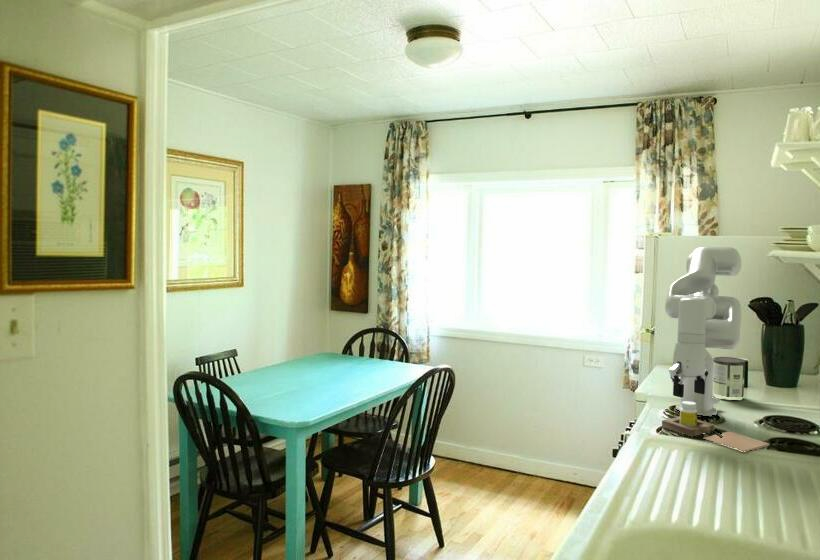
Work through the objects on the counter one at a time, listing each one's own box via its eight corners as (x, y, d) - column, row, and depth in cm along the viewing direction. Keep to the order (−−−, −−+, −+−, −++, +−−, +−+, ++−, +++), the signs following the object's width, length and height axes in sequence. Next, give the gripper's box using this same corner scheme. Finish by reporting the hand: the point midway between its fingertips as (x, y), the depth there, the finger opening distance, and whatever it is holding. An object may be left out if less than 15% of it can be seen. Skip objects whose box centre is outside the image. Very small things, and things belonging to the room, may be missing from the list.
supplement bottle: (698, 432, 179) (699, 405, 179) (681, 431, 180) (682, 404, 180) (694, 427, 184) (695, 401, 183) (677, 426, 185) (678, 400, 184)
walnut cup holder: (684, 422, 189) (684, 415, 189) (714, 431, 180) (714, 424, 180) (661, 427, 184) (662, 420, 184) (691, 437, 175) (692, 430, 175)
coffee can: (722, 392, 225) (724, 355, 224) (749, 398, 217) (751, 360, 216) (705, 396, 220) (707, 358, 219) (732, 402, 211) (734, 363, 210)
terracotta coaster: (729, 433, 179) (729, 431, 179) (769, 445, 168) (769, 443, 168) (703, 439, 173) (703, 437, 173) (743, 453, 163) (743, 450, 163)
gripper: (698, 335, 187) (696, 389, 188) (661, 338, 179) (658, 395, 180) (720, 338, 181) (718, 394, 181) (683, 342, 172) (680, 400, 173)
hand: (688, 394), depth 181 cm, fingers open, 9 cm apart
